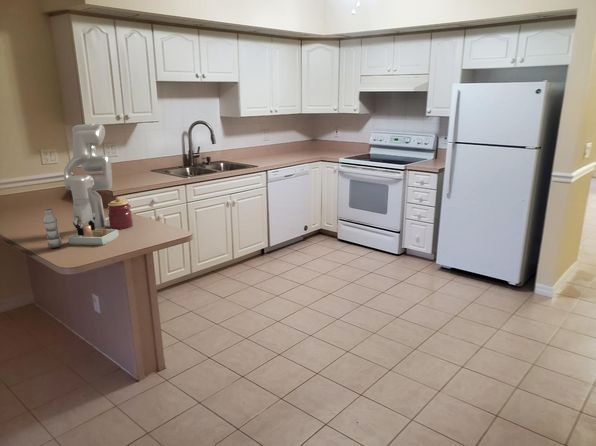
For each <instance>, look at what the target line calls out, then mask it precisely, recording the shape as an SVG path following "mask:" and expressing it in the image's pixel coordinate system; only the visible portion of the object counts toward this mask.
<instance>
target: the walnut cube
mask: <svg viewBox="0 0 596 446" xmlns="http://www.w3.org/2000/svg"><path fill="white" fill-rule="evenodd" d="M107 229H108V228H104V229H97V230H95V231H93V236H94V237H103V236H105V235H107V234H108V233H107Z"/></svg>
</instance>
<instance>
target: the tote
mask: <svg viewBox="0 0 596 446" xmlns="http://www.w3.org/2000/svg"><path fill="white" fill-rule="evenodd" d="M106 229H107V233H108V234H107V235H105V236H103V237H94V236H93V231H95V230H97V229H95V230H91V231H92V237H82V236H78V233H77V232H76V233H74V234H72V235H69V236H68V237H67V238H68V244H69V245H76V244H79V246H81V244H83V245H84V244H85V245H84V246H105V245H106V244H109V243H110V242H112V241H113V240H116V239H117V238H119V237H120V236H119V229H108V228H106Z"/></svg>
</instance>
